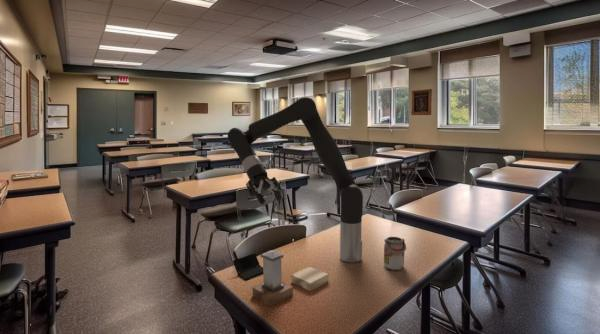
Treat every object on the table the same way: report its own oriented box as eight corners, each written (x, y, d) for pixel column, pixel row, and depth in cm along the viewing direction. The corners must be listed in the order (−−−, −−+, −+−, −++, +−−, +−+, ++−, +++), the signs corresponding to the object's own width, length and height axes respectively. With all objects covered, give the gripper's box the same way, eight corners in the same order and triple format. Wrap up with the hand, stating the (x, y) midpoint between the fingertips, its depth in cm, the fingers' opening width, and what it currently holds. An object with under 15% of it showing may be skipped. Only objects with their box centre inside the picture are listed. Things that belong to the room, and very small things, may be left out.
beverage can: (408, 272, 134) (409, 243, 133) (387, 272, 134) (388, 244, 132) (400, 262, 144) (400, 235, 142) (380, 263, 143) (381, 236, 141)
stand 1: (252, 295, 117) (252, 287, 117) (274, 285, 124) (274, 277, 124) (271, 306, 110) (271, 297, 110) (293, 294, 118) (292, 286, 117)
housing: (261, 286, 117) (260, 254, 116) (272, 281, 121) (271, 250, 119) (272, 292, 113) (272, 258, 112) (283, 287, 117) (283, 254, 115)
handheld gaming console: (249, 278, 127) (240, 253, 131) (239, 285, 131) (230, 261, 134) (270, 271, 136) (261, 249, 140) (259, 278, 140) (251, 256, 144)
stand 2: (291, 282, 127) (291, 274, 127) (309, 273, 134) (309, 266, 134) (310, 291, 120) (310, 283, 120) (328, 281, 127) (328, 274, 127)
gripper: (244, 164, 130) (262, 199, 123) (272, 162, 140) (290, 193, 134) (236, 175, 134) (253, 209, 128) (263, 172, 144) (280, 204, 138)
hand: (272, 201), depth 131 cm, fingers open, 8 cm apart
